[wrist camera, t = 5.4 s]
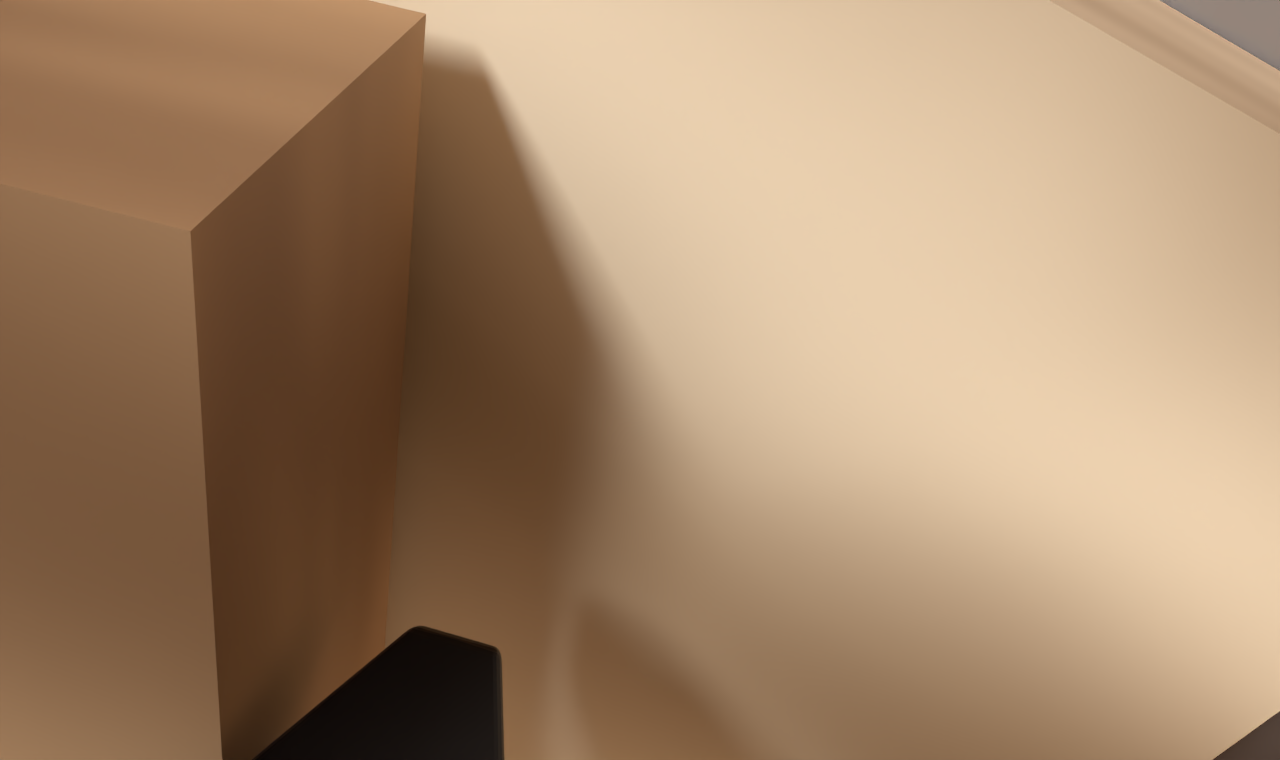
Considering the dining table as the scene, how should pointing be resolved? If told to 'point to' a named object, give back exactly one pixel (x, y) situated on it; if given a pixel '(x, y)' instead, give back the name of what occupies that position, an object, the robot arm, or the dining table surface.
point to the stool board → (846, 377)
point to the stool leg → (197, 364)
